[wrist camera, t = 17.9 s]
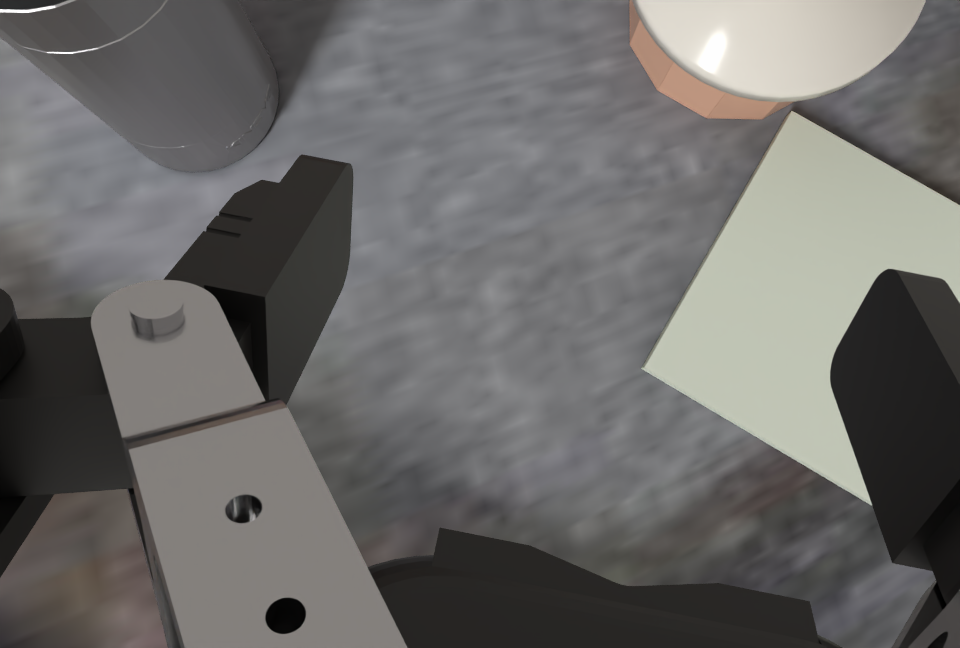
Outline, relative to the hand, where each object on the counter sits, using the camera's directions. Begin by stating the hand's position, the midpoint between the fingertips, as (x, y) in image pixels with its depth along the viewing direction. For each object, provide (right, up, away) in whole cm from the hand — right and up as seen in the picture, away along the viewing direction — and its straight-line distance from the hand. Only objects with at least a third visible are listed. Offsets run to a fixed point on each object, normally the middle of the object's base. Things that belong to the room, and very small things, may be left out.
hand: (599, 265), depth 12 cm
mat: (+19, 0, +31) cm, 36 cm away
